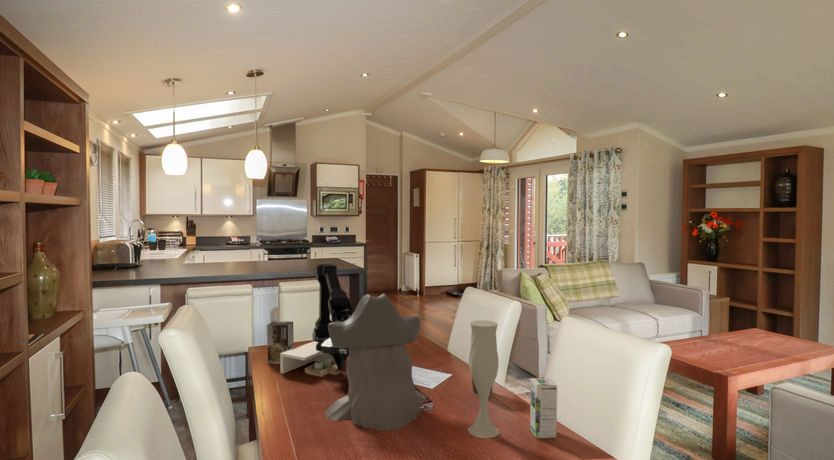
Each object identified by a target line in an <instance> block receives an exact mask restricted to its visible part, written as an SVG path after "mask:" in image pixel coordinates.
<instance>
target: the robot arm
mask: <svg viewBox="0 0 834 460" xmlns="http://www.w3.org/2000/svg"><path fill="white" fill-rule="evenodd" d="M313 270H314V275H315V279H316V280H317V282H318V283H319V290H318V291H319V293H318V294H319V297H318V298H319V300H318V301H319V304H318V305H319V306H318V309H319V311H318V318H317V319H316V321H315V322H314V328H313V331H312V334H311V335H312V336H311V337H312V342H319V343H317V345H316V351H323V353H328V354H330V355H331V356H333V358H334V360H335V362H336V365H337V367H338V370H339V371H341V372H342V370H343V368H344V366H345V363H346V361H347V360H348V359H347V358H349V348H334V347H333V345H332V341H331V338H330V335H329V331H328V324H330V323H332V322H343V321H346V320H347V319H348V318H349V317H350V316H351V315H352V314H353V312H354V308H353V306H352V302H351V300H350V297H348V294H347V292H346V291H345V290H343V289H342V286H341V283H340V280H339V275H338V266H337V265H335V264H333V263H318V264H317V265H316V266H314V269H313Z"/></svg>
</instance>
